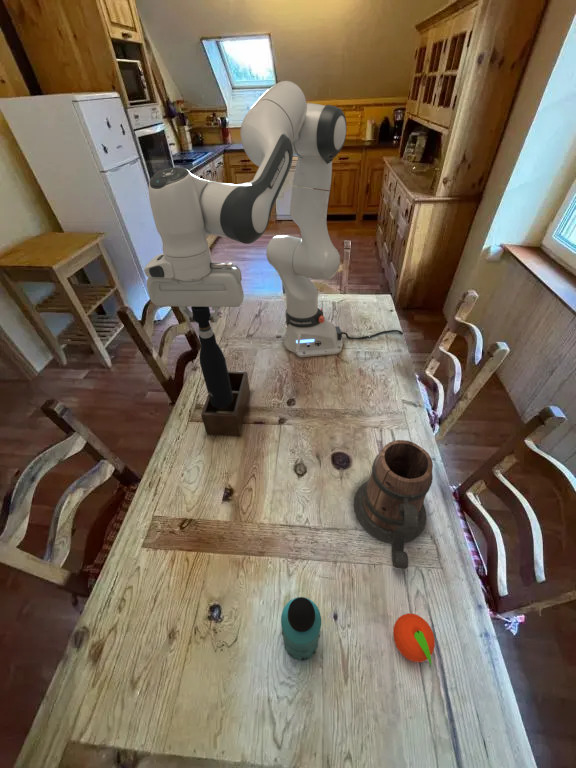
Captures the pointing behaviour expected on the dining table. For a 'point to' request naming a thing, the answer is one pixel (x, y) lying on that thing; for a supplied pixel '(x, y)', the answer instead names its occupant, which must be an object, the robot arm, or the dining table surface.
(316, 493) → the dining table surface
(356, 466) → the dining table surface
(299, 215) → the robot arm
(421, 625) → the clementine
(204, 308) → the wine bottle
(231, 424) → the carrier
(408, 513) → the tankard
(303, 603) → the beverage bottle
